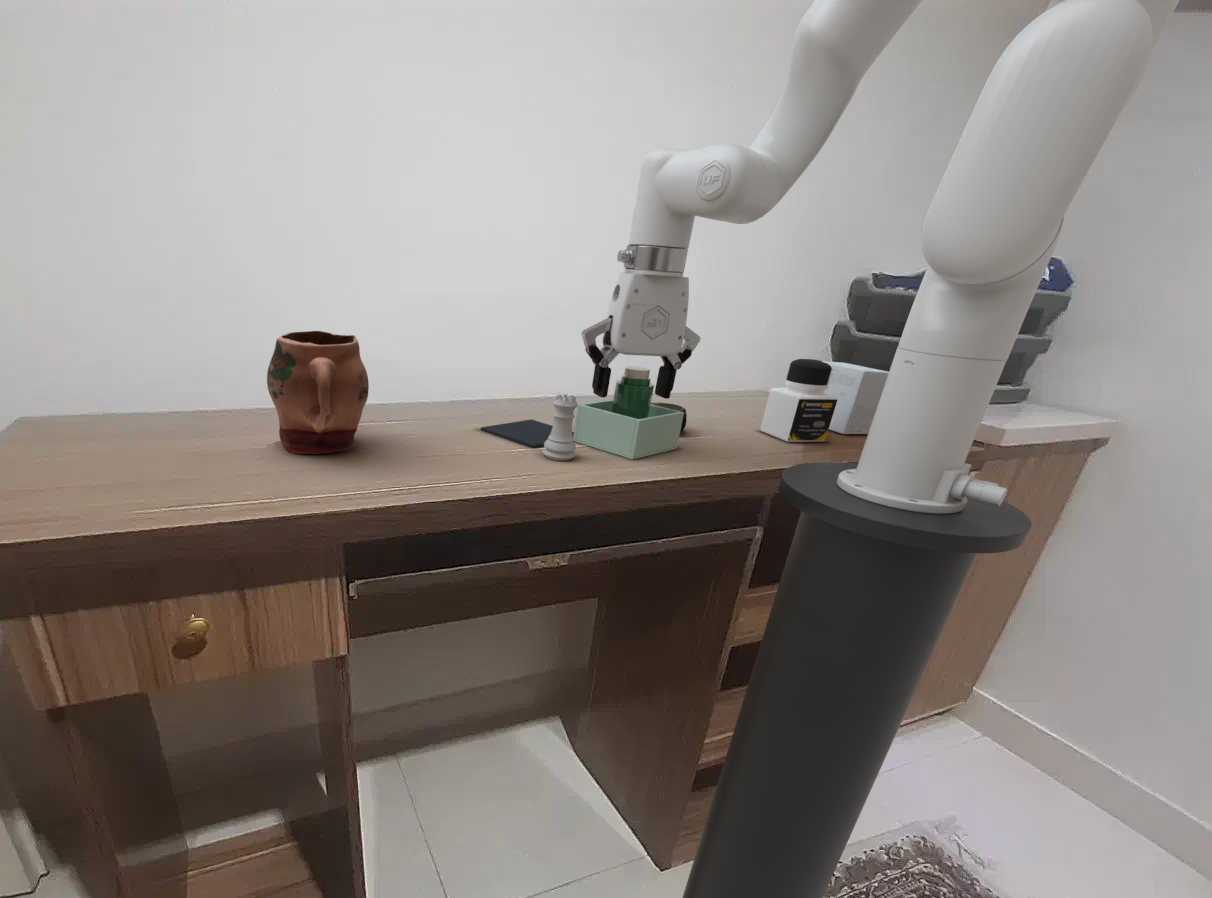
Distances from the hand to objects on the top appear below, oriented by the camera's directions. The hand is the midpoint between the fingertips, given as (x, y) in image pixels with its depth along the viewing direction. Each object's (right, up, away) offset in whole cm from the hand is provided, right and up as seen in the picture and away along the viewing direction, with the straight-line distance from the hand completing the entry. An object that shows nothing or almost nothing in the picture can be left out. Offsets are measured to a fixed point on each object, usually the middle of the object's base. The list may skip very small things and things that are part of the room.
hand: (631, 395), depth 91 cm
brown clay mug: (-42, -9, -8) cm, 44 cm away
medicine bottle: (+30, -3, +14) cm, 33 cm away
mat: (-13, -4, +5) cm, 15 cm away
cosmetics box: (+42, 0, +22) cm, 47 cm away
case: (0, -6, +3) cm, 7 cm away
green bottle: (0, -6, +3) cm, 7 cm away
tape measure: (+8, -3, +12) cm, 15 cm away
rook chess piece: (-11, -9, -5) cm, 15 cm away
